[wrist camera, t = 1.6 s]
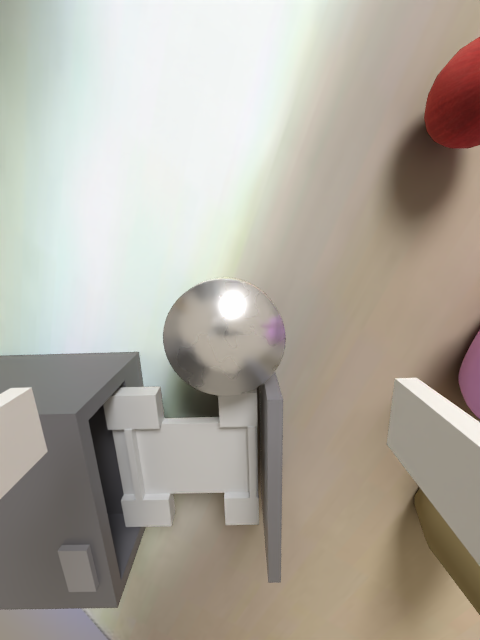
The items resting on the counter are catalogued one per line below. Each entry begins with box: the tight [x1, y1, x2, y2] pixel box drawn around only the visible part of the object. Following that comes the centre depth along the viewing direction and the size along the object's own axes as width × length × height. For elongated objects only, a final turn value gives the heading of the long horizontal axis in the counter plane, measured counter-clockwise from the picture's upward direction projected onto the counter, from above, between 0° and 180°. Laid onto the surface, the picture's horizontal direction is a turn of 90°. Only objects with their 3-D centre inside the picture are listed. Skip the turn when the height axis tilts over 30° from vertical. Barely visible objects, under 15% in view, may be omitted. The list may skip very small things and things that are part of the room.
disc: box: [163, 277, 286, 396], centre depth 18 cm, size 8×8×2 cm
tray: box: [103, 372, 283, 583], centre depth 23 cm, size 17×14×8 cm
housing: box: [0, 352, 145, 609], centre depth 23 cm, size 17×14×10 cm
